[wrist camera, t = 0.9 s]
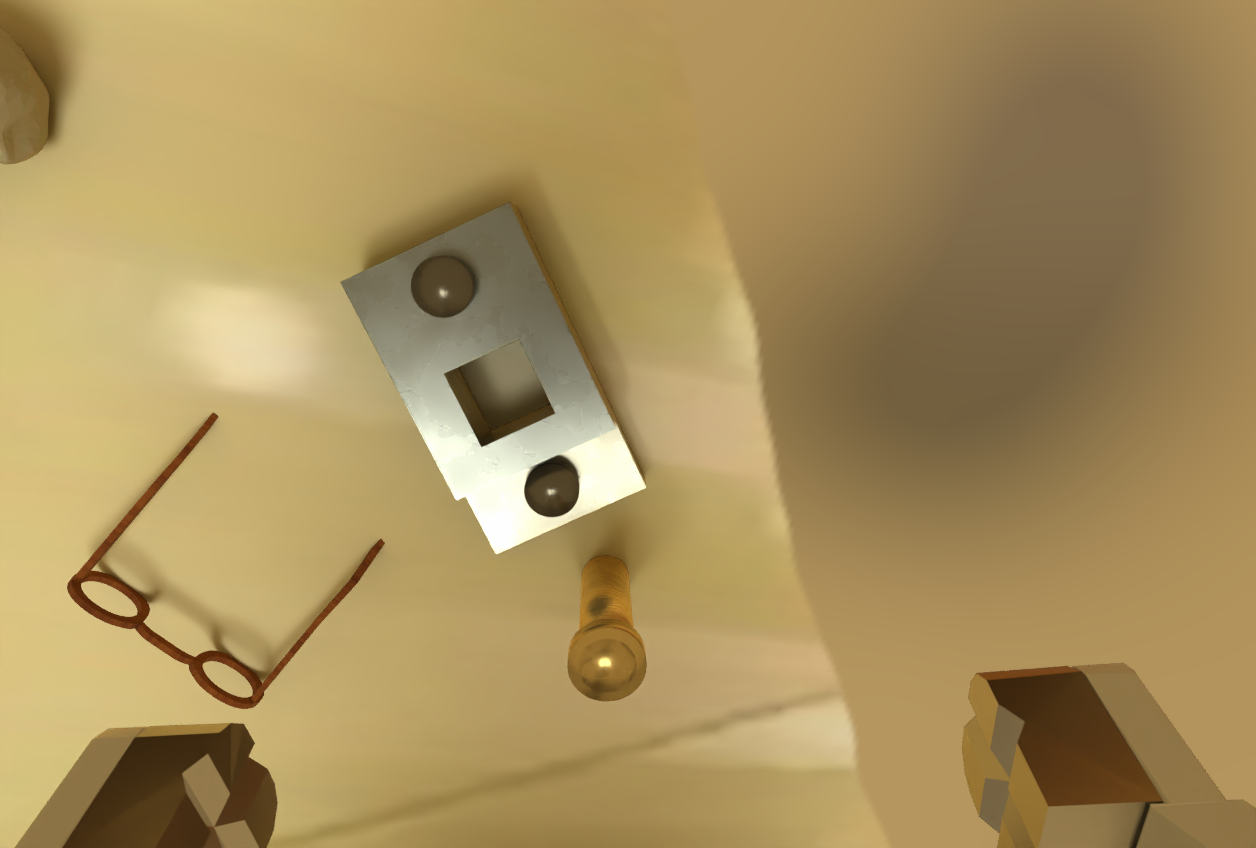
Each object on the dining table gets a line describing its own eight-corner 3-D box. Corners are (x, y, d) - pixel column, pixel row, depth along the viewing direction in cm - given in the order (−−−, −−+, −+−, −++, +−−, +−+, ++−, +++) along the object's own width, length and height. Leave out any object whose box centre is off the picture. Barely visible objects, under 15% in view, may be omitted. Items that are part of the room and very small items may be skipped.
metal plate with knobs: (644, 478, 50) (649, 504, 45) (499, 542, 51) (488, 575, 46) (516, 205, 46) (506, 201, 41) (361, 278, 47) (332, 283, 42)
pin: (646, 591, 52) (659, 682, 41) (590, 616, 52) (588, 713, 41) (620, 538, 51) (626, 617, 40) (563, 563, 51) (554, 649, 41)
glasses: (96, 565, 51) (43, 600, 46) (216, 410, 49) (173, 429, 44) (271, 684, 53) (238, 729, 48) (391, 541, 51) (369, 572, 46)
